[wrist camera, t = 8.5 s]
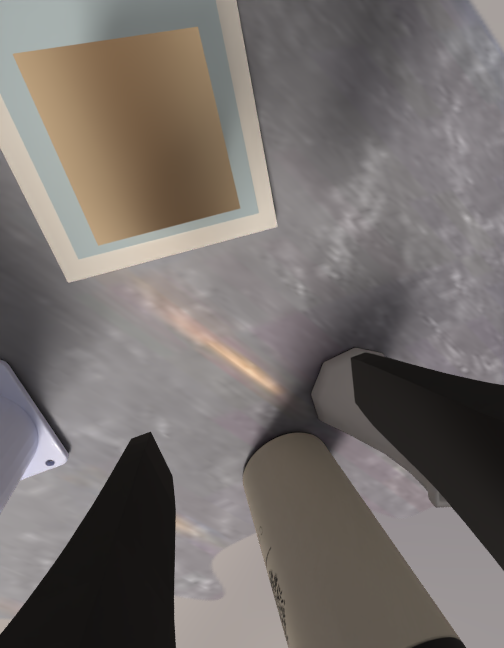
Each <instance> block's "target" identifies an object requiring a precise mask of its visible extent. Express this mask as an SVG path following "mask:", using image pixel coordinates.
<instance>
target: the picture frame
mask: <svg viewBox="0 0 504 648" xmlns="http://www.w3.org/2000/svg"><path fill="white" fill-rule="evenodd" d="M192 27H198V29H199V34H200V38H201V42H202V46H203V51H204V55H205V59H206V63H207V68H208V72H209V76H210V80H211V85H212V89H213V93H214V97H215V102H216V106H217V110H218V114H219V119H220V123H221V127H222V131H223V136H224V140H225V144H226V148H227V153H228V157H229V161H230V165H231V170H232V174H233V178H234V182H235V187H236V191H237V195H238V199H239V204H240V209H237V210H233V211H229V212H225V213H221V214H217V215H214V216H210V217H206V218H202V219H198V220H195V221H191V222H187V223H183V224H179V225H175V226H172V227H168V228H164V229H160V230H156V231H153V232H149V233H145V234H141V235H137V236H134V237H130V238H126V239H122V240H118V241H114V242H111V243H107V244H103V245H99V246H98V244H97V242H96V240H95V238H94V235H93V233H92V231H91V229H90V226H89V224H88V222H87V220H86V217H85V215H84V213H83V211H82V209H81V206H80V204H79V202H78V200H77V197H76V195H75V193H74V191H73V188H72V186H71V184H70V182H69V179H68V177H67V175H66V173H65V170H64V168H63V166H62V164H61V162H60V159H59V157H58V155H57V153H56V150H55V148H54V146H53V144H52V141H51V139H50V137H49V135H48V132H47V130H46V128H45V126H44V124H43V121H42V119H41V117H40V115H39V112H38V110H37V108H36V106H35V103H34V101H33V99H32V97H31V94H30V92H29V90H28V88H27V85H26V83H25V81H24V79H23V77H22V74H21V72H20V70H19V68H18V65H17V63H16V61H15V59H14V56H13V54H14V53H21V52H28V51H35V50H42V49H48V48H55V47H62V46H69V45H76V44H82V43H89V42H96V41H103V40H110V39H117V38H123V37H130V36H137V35H144V34H151V33H158V32H164V31H171V30H178V29H185V28H192ZM0 148H1V150H2V152H3V154H4V156H5V158H6V160H7V162H8V164H9V166H10V168H11V170H12V172H13V174H14V176H15V178H16V180H17V182H18V184H19V186H20V188H21V190H22V192H23V194H24V196H25V198H26V200H27V202H28V204H29V206H30V208H31V210H32V212H33V214H34V216H35V218H36V220H37V222H38V224H39V226H40V228H41V230H42V232H43V234H44V236H45V238H46V240H47V242H48V244H49V246H50V248H51V250H52V252H53V254H54V256H55V258H56V260H57V262H58V264H59V266H60V268H61V270H62V271H63V273H64V275H65V277H66V279H67V281H68V283H70V282H74V281H77V280H81V279H85V278H88V277H92V276H96V275H100V274H103V273H107V272H111V271H115V270H118V269H122V268H126V267H129V266H133V265H137V264H141V263H144V262H148V261H152V260H155V259H159V258H163V257H167V256H170V255H174V254H178V253H182V252H185V251H189V250H193V249H196V248H200V247H204V246H208V245H211V244H215V243H219V242H222V241H226V240H230V239H234V238H237V237H241V236H245V235H249V234H252V233H256V232H260V231H263V230H267V229H271V228H275V227H278V226H277V221H276V215H275V210H274V204H273V199H272V193H271V188H270V182H269V177H268V172H267V166H266V161H265V155H264V150H263V144H262V139H261V133H260V128H259V122H258V117H257V111H256V106H255V100H254V95H253V89H252V84H251V78H250V73H249V67H248V62H247V56H246V51H245V45H244V40H243V34H242V29H241V23H240V18H239V12H238V7H237V1H236V0H0Z"/></svg>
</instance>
